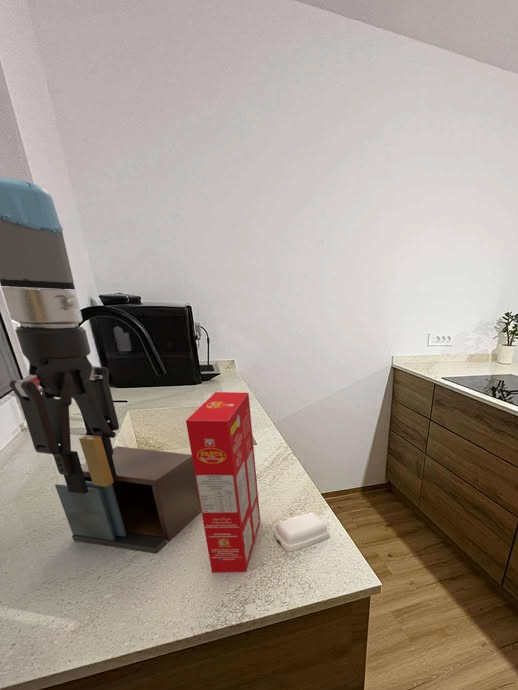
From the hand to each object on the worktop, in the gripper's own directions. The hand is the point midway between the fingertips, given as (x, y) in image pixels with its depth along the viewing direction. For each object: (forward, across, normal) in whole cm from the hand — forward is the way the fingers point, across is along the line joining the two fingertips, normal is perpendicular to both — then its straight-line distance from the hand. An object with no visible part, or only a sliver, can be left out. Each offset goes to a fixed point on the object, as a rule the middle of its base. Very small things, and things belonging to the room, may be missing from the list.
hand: (94, 483), depth 61 cm
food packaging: (+12, +6, -20) cm, 24 cm away
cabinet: (+12, +7, 0) cm, 14 cm away
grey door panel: (+11, +2, +2) cm, 11 cm away
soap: (+12, +11, -30) cm, 34 cm away
